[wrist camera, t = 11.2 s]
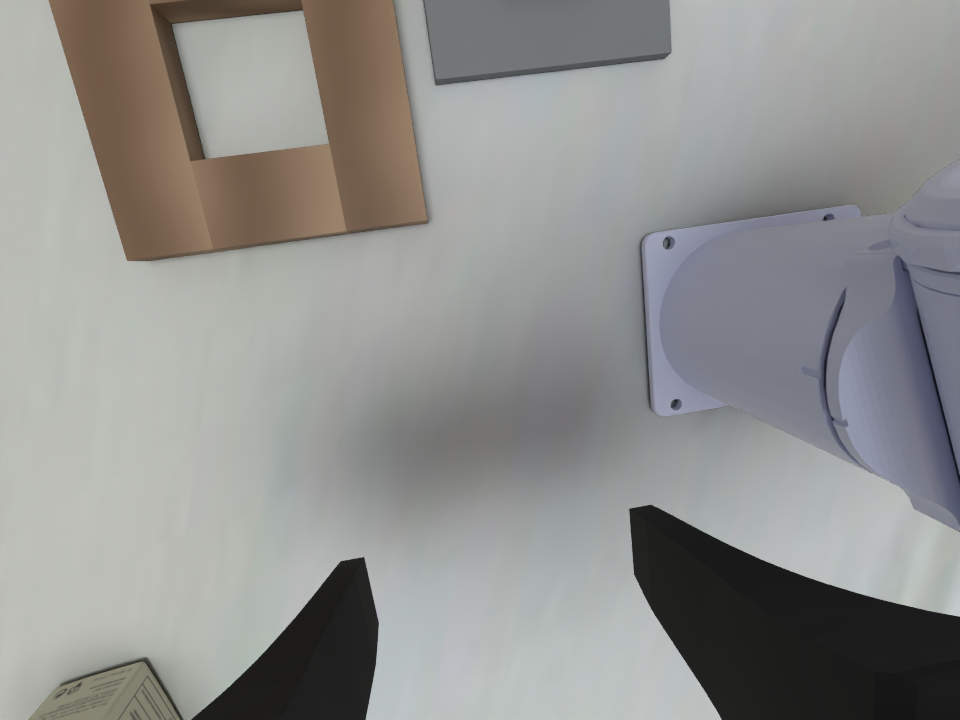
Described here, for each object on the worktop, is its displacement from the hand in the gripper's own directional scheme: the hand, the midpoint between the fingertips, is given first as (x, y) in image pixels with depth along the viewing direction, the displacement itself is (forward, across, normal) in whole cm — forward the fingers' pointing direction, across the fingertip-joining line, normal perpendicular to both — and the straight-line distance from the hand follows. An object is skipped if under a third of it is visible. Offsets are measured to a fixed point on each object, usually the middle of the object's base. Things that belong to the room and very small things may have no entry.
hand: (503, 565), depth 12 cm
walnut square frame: (+8, +6, -15) cm, 18 cm away
